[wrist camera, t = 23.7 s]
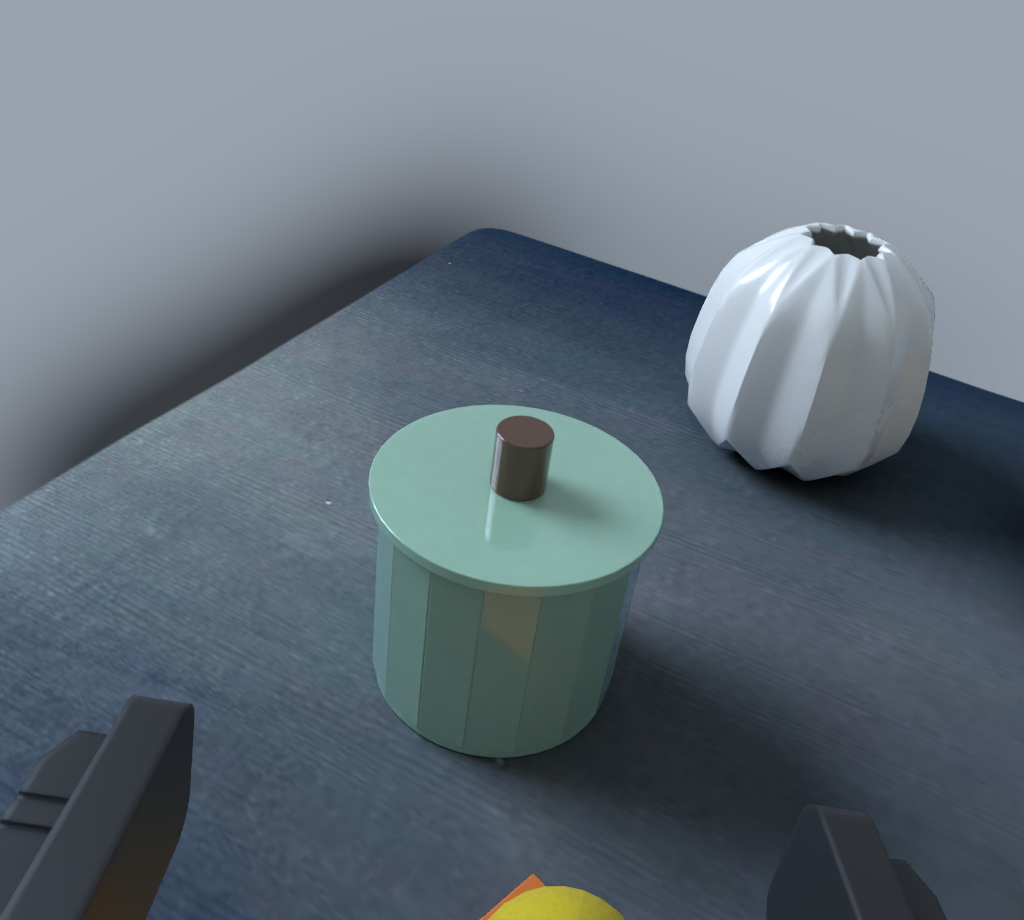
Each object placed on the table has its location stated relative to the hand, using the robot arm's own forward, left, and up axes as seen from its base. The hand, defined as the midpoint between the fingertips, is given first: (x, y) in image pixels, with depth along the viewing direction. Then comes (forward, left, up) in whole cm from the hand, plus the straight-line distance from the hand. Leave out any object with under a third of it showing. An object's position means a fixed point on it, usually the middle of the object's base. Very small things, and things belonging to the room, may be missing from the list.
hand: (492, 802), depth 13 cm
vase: (+44, +17, -21) cm, 51 cm away
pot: (+17, +15, -21) cm, 31 cm away
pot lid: (+17, +15, -12) cm, 25 cm away
